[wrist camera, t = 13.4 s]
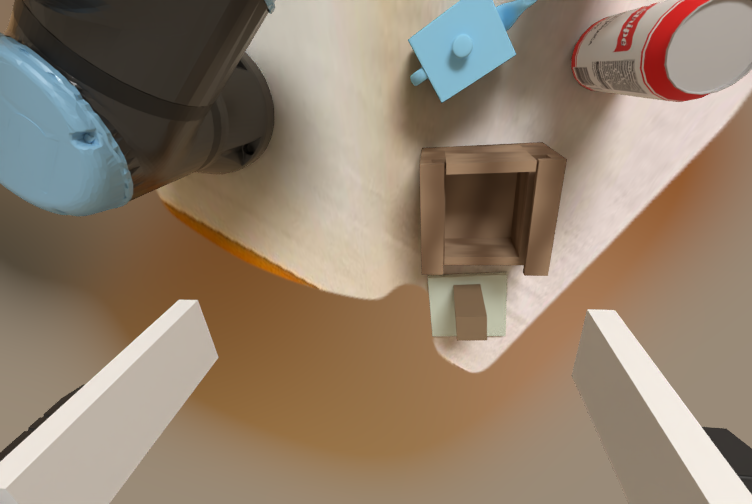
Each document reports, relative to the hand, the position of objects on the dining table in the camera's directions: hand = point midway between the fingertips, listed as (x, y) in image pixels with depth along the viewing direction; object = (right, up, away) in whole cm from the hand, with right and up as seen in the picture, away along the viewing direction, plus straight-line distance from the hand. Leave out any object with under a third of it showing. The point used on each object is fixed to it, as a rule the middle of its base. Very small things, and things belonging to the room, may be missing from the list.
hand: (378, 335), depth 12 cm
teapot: (+9, +24, +24) cm, 35 cm away
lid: (+13, -4, +38) cm, 40 cm away
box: (+12, +10, +30) cm, 34 cm away
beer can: (+22, +22, +22) cm, 38 cm away
